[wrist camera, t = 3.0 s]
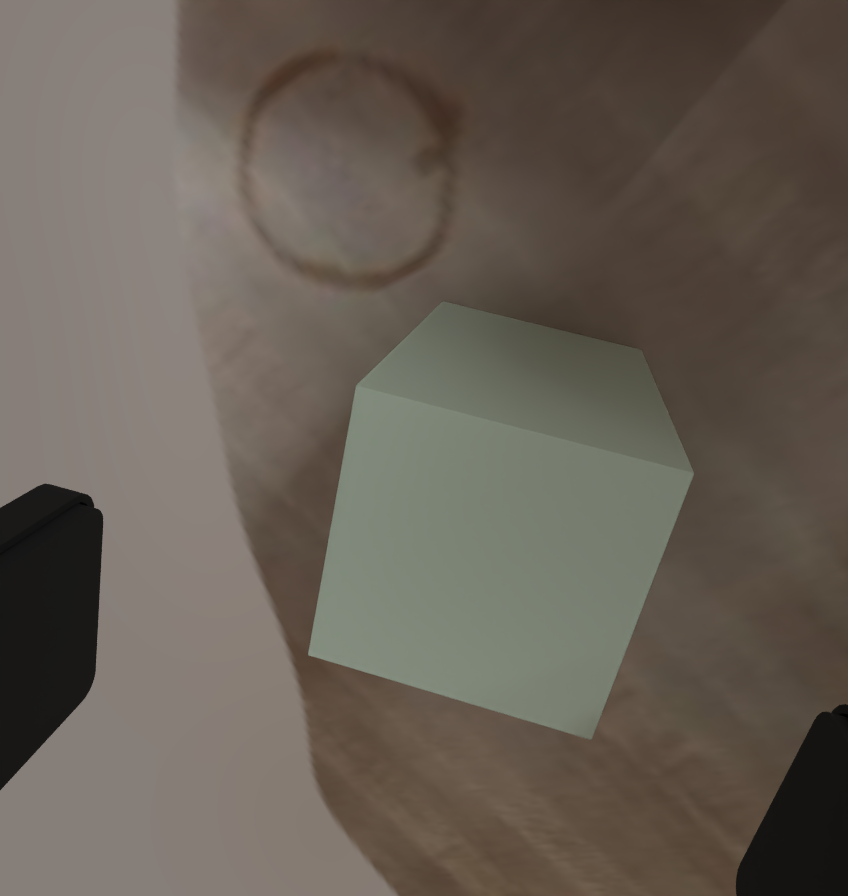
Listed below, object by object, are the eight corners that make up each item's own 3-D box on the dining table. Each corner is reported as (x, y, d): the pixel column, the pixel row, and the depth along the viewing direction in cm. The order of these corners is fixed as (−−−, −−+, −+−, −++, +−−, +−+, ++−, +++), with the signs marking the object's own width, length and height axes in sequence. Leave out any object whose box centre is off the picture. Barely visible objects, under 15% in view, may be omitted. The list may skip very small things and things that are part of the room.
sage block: (641, 350, 18) (694, 473, 10) (582, 527, 19) (591, 740, 12) (442, 301, 18) (356, 384, 11) (404, 478, 20) (308, 655, 13)
